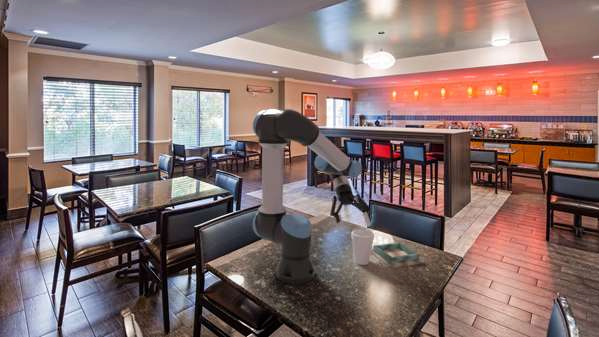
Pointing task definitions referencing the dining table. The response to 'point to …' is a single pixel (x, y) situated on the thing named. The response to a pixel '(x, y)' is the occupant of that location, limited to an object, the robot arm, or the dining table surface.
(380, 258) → the plate
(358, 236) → the foam cup
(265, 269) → the dining table surface
